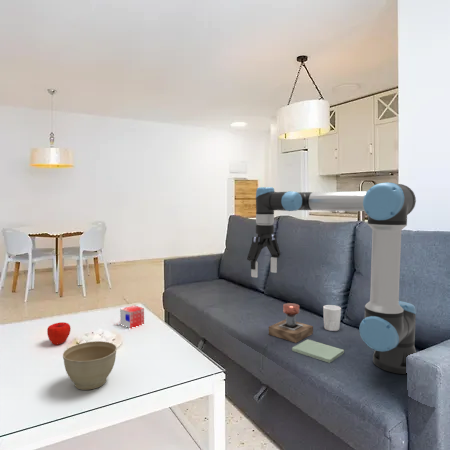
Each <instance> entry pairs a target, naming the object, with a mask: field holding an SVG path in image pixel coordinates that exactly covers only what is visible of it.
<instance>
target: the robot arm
mask: <svg viewBox="0 0 450 450" xmlns="http://www.w3.org/2000/svg"><path fill="white" fill-rule="evenodd" d="M416 202H417V200H416V194H415V192H414V191H413V189H412V188H410V187H409V186H407V185H405V184H401V183H396V182H395V183H394V182H387V181H386V182H380V183H376V184H374V185H372V187H370V188H369V189H368V190H357V191H356V190H353V191H351V190H350V191H349V190H348V191H347V190H346V191H313V192H311V191H308V192H307V191H306V192H305V191H303V192H297V191H292V190H290V191H275V188H274V187H269V186H268V187H267V186H264V187H263V186H260V187H259V186H258V187H257V189H256V192H255V208H256V209H255V211H256V212H255V224H256V225H255V233H256V234H257V236H252V239H251V244H250V247H249V252H248V254H247V259H246V260H247V261H248V262H250V273H251V274H250V275H251V276H250V277H252V278H258V277H259V276H258V275H259V272H258V271H259V270H258V269H259V268H258V266H259V265H258V261H257V260H258V258H259V256H260V254H261V252H262V250H263V249H264V248H266V247H267V249H268V251H269V253H270V255H271V257H270V273H273V274H274V273H275V274H276V273H278V269H277V268H278V259H279V258H280V256H281V251H280V248H279V244H278V241H277V235H276V234H274V231H275V229H274V227H275V226H274V224H275V211H283V212H284V211H286V212H296V211H332V212H333V211H335V212H337V211H339V212H341V211H342V212H365V214H366V215H367V225H368V227H370V229H371V230H372V231H371V260H370V261H371V262H370V263H371V264H370V266H371V267H370V292H369V294H370V295H369V301H368V302H367V303H366V304H365V305H364V318H363V319H362V320H361V322H360V323H359V329H358V330H359V331H358V332H359V336H360V338H361V340H362V341H363V342H364V343H365V344H366V346H367V347H369V349H370V348H371V349H372V350H374V352H373V354H372V362H373V364H374V365H375V366H376V367H377V368H379V369H380V370H383V371H385V372H389V373H393V374H397V375H398V374H399V375H407V374H406V357H407V356H408V355H410V354H413V353H417V351H416V347H415V341H416V339H415V338H416V337H415V336H416V320H417V319H416V316H417V310H416V306H415V305H414V304H412V303H409V302H406V301H401V300H400V275H401V249H402V248H401V247H402V231H403V229H404V228H405V227H407V226H408V215H409V214H410V213H412V211H413V210H414V209H415V207H416Z"/></svg>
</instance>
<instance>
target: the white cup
mask: <svg viewBox="0 0 450 450" xmlns="http://www.w3.org/2000/svg"><path fill="white" fill-rule="evenodd" d="M322 307H323V310H322V311H323V312H322V313H323V328H324V329H325V330H326V331H330V332H337V331H339V330H340V325H341V315H342V313H341V312H342V308H341V307H340V306H338V305H334V304H326V305H323V306H322Z"/></svg>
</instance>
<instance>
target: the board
mask: <svg viewBox="0 0 450 450" xmlns="http://www.w3.org/2000/svg"><path fill="white" fill-rule="evenodd" d="M291 351H292V352H295V353H298V354H300V355H303V356H306V357H310V358H313V359H316V360H319V361H323V362H324V363H328V364H330V363H332V362H334V361H335V360H336V359H338V358H339V357H341V356H342V355H343V354H344V353H345V349H342V348H339V347H335V346H333V345H328V344H324V343H322V342H318V341H315V340H313V339H306V340H303V341H302V342H300V343H298V344H296V345H294V346H292V347H291Z"/></svg>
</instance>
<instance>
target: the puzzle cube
mask: <svg viewBox="0 0 450 450" xmlns="http://www.w3.org/2000/svg"><path fill="white" fill-rule="evenodd" d="M119 313H120V315H119V317H120V318H119V319H120V321H119V323H120V325H121V324H122V325H124V326H127V327H129V328H131V329H133V328H132V327H135V328H137V327H136V326H138V327H140V326H139V325H141V326H143V325H142V324H144V325H145V308H143V307H141V306H137V305H130V306H126V307H122V308H120V311H119ZM122 325H121V326H122ZM124 326H123V327H124ZM127 327H126V328H127ZM129 328H128V329H129Z"/></svg>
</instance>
